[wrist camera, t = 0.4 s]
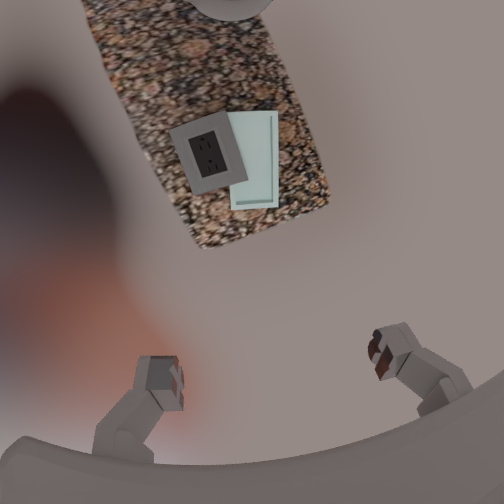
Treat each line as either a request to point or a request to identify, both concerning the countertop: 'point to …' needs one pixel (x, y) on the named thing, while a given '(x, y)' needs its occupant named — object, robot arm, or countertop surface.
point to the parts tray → (256, 158)
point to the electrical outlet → (209, 153)
